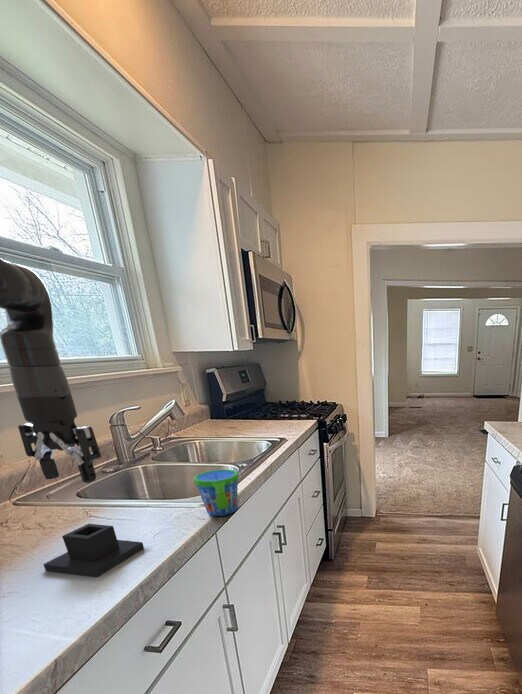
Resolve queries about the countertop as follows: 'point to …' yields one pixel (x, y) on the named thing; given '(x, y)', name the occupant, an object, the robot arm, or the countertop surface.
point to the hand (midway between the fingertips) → (71, 479)
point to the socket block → (91, 542)
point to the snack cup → (218, 491)
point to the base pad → (94, 567)
